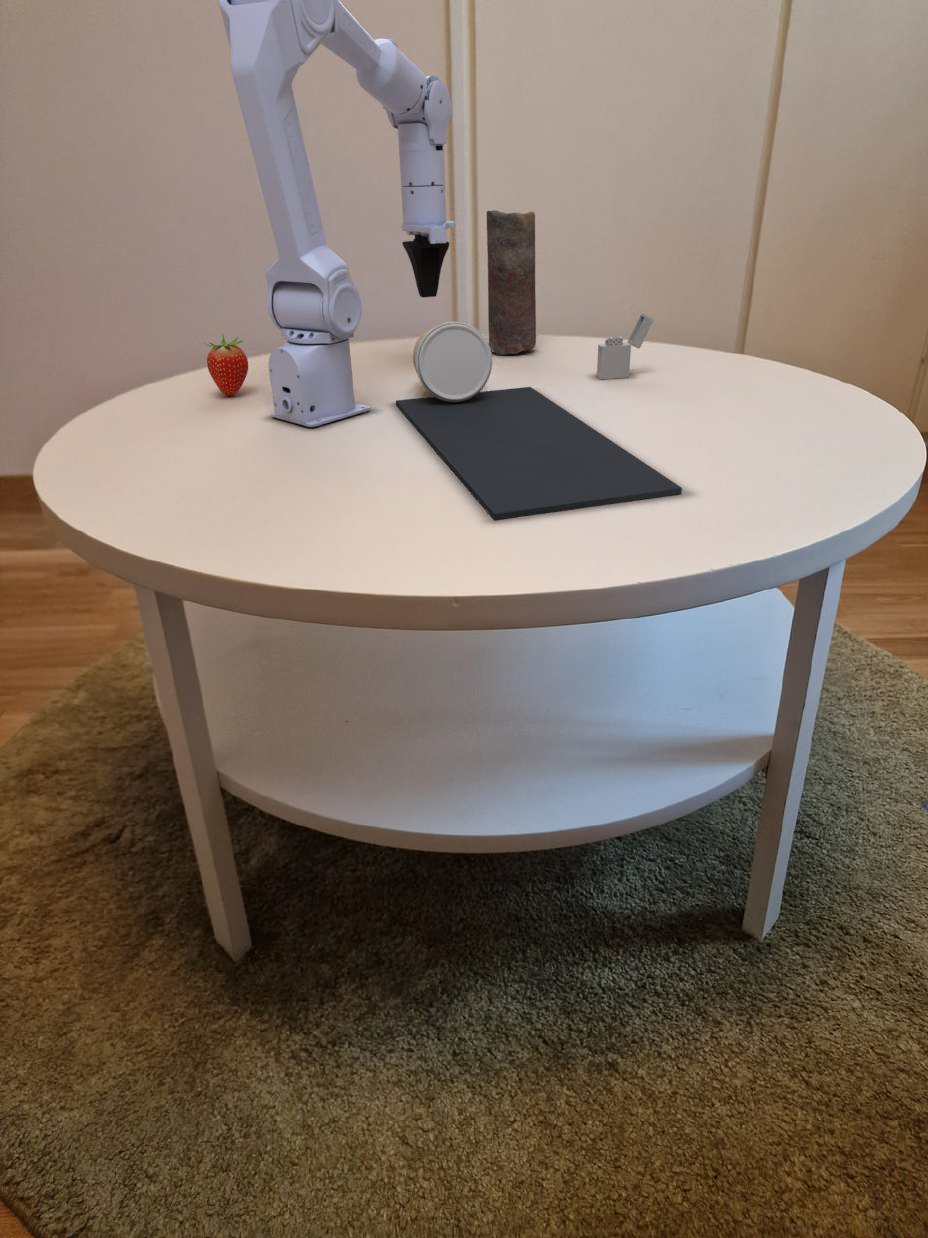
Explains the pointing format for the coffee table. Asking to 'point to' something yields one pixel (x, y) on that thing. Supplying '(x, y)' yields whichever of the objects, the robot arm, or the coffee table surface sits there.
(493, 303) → the brown stone cylinder
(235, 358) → the fruit
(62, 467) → the coffee table surface
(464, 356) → the coffee cup
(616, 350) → the lighter
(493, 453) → the mat
